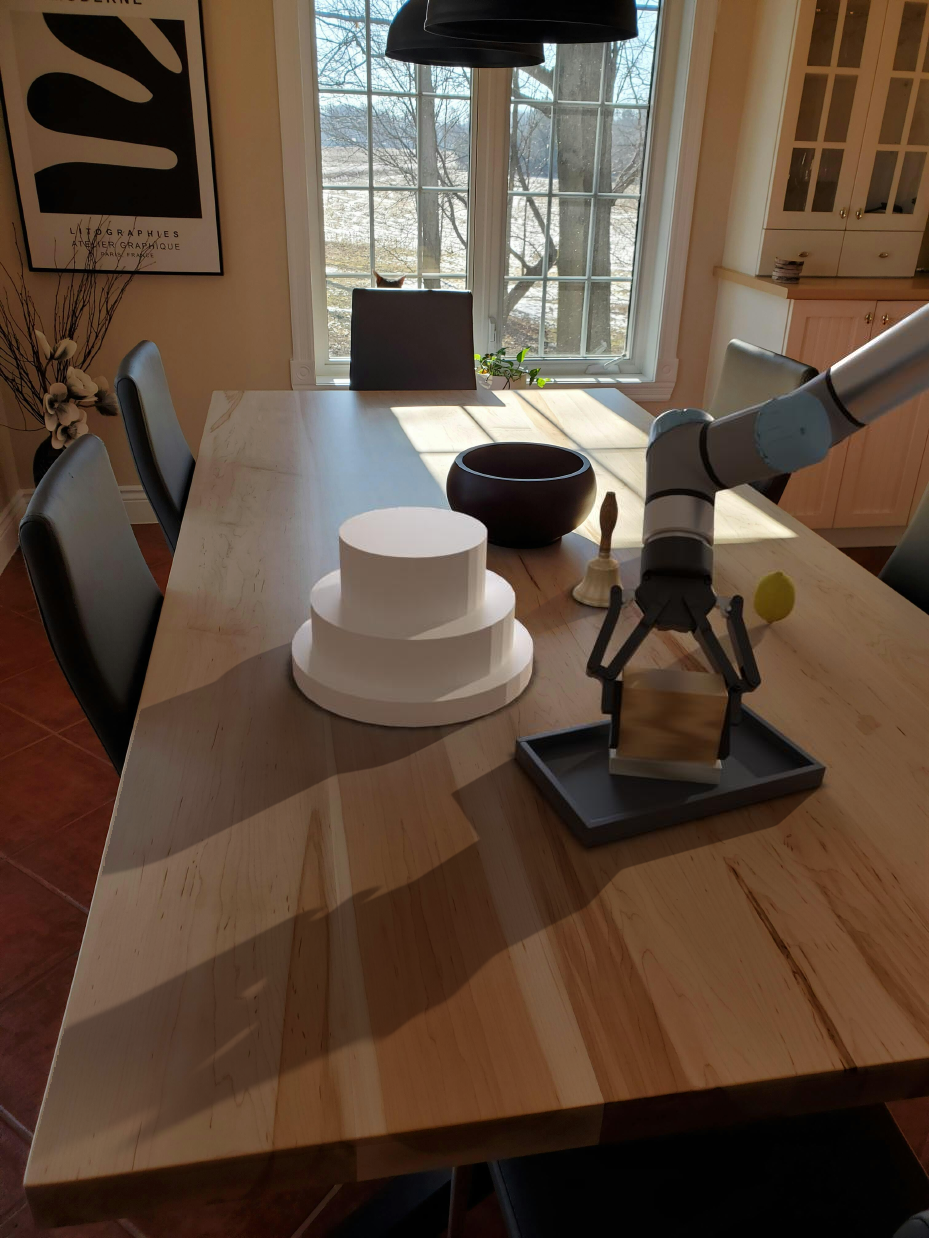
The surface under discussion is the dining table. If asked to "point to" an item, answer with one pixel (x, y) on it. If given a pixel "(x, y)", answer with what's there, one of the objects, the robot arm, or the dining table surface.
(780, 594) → the lemon
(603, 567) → the hand bell
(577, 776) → the tray
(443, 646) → the cake
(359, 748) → the dining table surface
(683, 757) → the eraser
